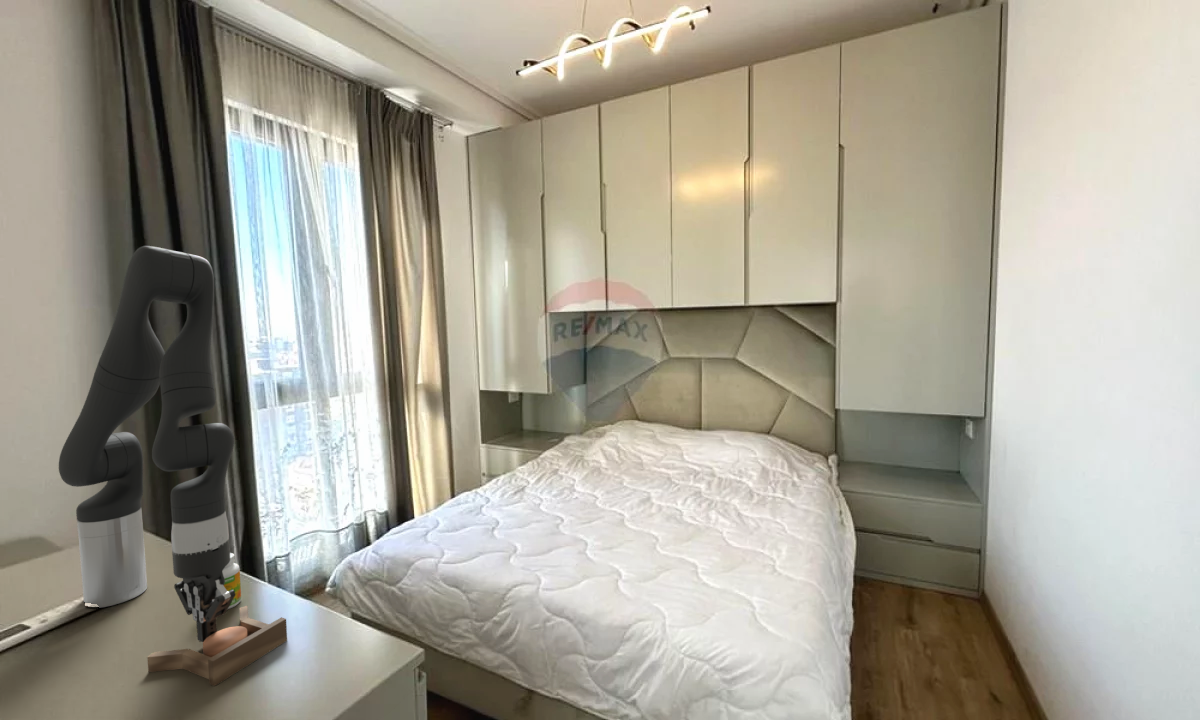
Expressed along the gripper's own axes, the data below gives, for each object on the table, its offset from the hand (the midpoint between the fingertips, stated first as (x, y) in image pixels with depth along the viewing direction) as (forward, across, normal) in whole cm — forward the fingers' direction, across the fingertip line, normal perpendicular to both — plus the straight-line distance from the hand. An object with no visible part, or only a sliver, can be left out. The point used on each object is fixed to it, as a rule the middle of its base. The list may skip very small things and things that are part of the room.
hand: (207, 638), depth 85 cm
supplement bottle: (+1, -10, +9) cm, 14 cm away
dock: (+1, +5, 0) cm, 5 cm away
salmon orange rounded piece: (+1, +4, 0) cm, 5 cm away
